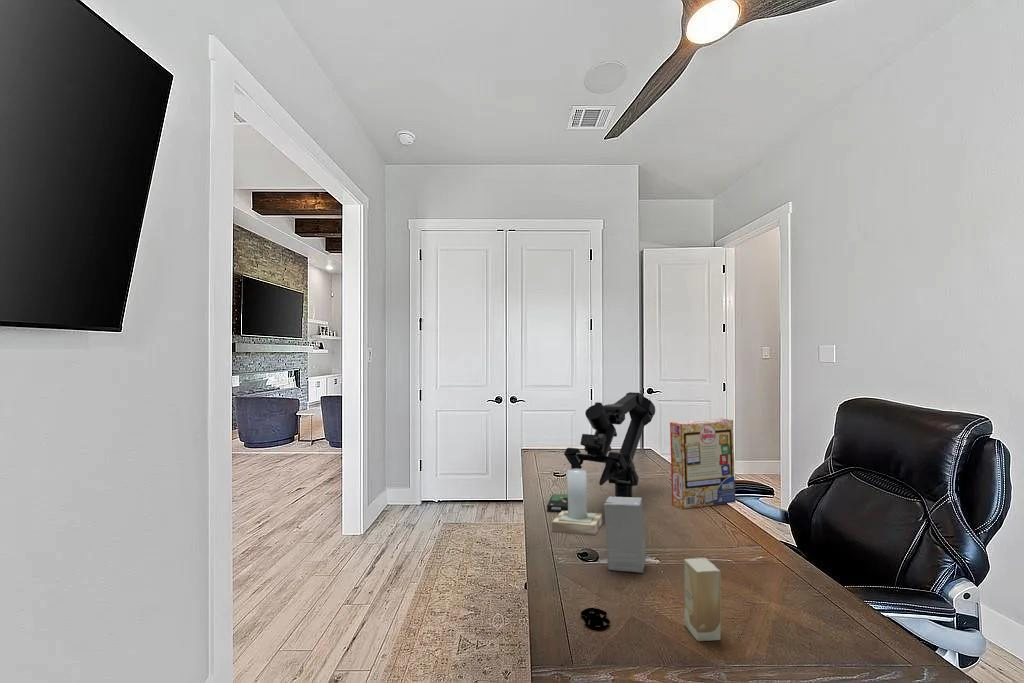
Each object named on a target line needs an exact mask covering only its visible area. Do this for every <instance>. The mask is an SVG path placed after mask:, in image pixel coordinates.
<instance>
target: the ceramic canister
mask: <svg viewBox="0 0 1024 683" xmlns="http://www.w3.org/2000/svg"><path fill="white" fill-rule="evenodd" d="M566 476H567V477H566V482H567V483H566V484H567V485H566V486H567V494H568V517H570V518H573V519H584V518H587V517H588V513H589V512H588V484H587V483H588V481H587V478H588V477H587V469H584V468H581V469H578V468H576V469H571V468H569V469H567V470H566ZM587 512H588V513H587Z"/></svg>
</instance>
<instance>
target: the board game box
mask: <svg viewBox="0 0 1024 683" xmlns="http://www.w3.org/2000/svg"><path fill="white" fill-rule="evenodd" d="M669 433H670V434H669V436H670V438H669V440H670V442H669V443H670V469H671V470H670V471H671V472H670V473H671V477H670V478H671V505H672V506H674V507H676V508H678V509H681V510H685V509H691V508H692V509H693V508H698V507H699V508H700V507H701V508H702V507H709V506H715V505H716V506H717V505H725V504H733V503H734V504H735V503H736V488H735V487H736V483H735V482H736V481H735V452H734V450H735V449H734V420H733V419H728V418H722V417H721V418H712V419H699V420H698V419H697V420H687V421H686V420H685V421H672V422H669Z"/></svg>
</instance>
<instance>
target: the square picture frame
mask: <svg viewBox="0 0 1024 683" xmlns="http://www.w3.org/2000/svg"><path fill="white" fill-rule="evenodd" d="M587 513H588V517H587V518H584V519H573V518H570V517H568V511H563V510H562V511H561V512H560V513H558V515H557V516H556V517H555V518H554V519H553V521H552V522H551V531H552V532H555V533H557V532H558V533H564V534H566V533H568V534H577V535H591V536H596V534H597V533H598V531H599V529H600V528H601V526H602V524H603V513H599V512H588V511H587Z"/></svg>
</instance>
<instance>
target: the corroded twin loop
mask: <svg viewBox="0 0 1024 683" xmlns="http://www.w3.org/2000/svg"><path fill="white" fill-rule="evenodd" d="M607 614H608V613H607V611H605V610H603V609H600V608H597V607H588V608H584V610H582V611H581V612H580V615H581V616H582V619H583V622H584V623H585V625H586V626H587V627H588V628H589V629H591V630H596V631H603V630H605V629H606V628H608V627H609V625H610V623H611V621H610V619H609V618H606V616H607Z"/></svg>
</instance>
